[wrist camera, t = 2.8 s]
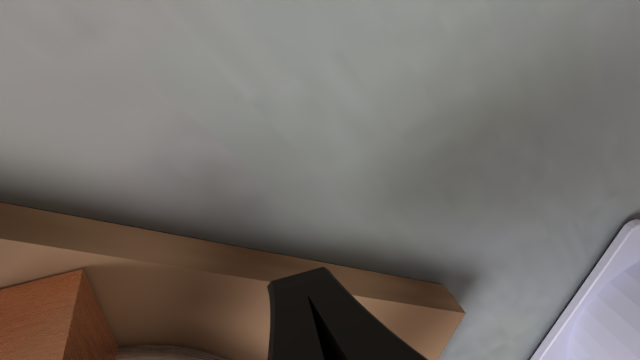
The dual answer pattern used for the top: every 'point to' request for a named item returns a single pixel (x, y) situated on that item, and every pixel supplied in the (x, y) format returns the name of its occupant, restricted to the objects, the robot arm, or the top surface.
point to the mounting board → (201, 285)
